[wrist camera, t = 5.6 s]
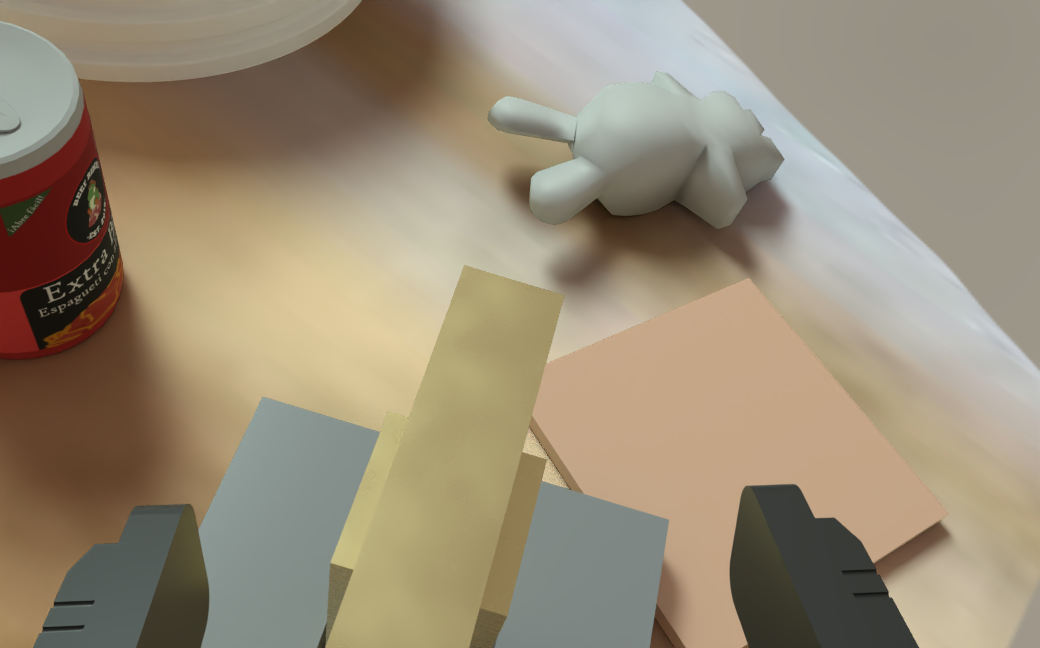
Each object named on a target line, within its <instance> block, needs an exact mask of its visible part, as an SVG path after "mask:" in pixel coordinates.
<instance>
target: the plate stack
mask: <svg viewBox="0 0 1040 648" xmlns="http://www.w3.org/2000/svg"><path fill="white" fill-rule="evenodd" d="M361 1H362V0H0V21H2V22H6V23H10V24H14V25H17V26H19V27H22V28H25V29H27V30H30V31H32V32H34V33H36V34H38V35H40V36H41V37H43V38H45V39H47V40H48V41H50V42H51V43H52V44H54V45H55V46H56V47H57V48H58V49H59V50H61V51H62V52H63V53H64V54H65V56H66V57H67V59H68V60H69V61H70V63H71V64H72V65H73V67H74V70H75V73H76V75H77V77H78V78H79V79H87V80H98V81H112V82H163V81H177V80H187V79H195V78H203V77H209V76H215V75H220V74H225V73H230V72H234V71H238V70H242V69H246V68H250V67H253V66H256V65H260V64H263V63H266V62H269V61H272V60H274V59H277V58H280V57H282V56H285V55H287V54H289V53H292V52H294V51H296V50H298V49H300V48H302V47H304V46H306V45H308V44H310V43H312V42H313V41H315V40H317V39H318V38H320V37H322V36H323V35H325V34H326V33H328V32H329V31H330V30H332V29H333V28H335V27H336V26H337V25H338V24H340V23H341V22H342V21H343V20H344V19H345V18H347V17H348V16H349V15H350V14H351V13H352V12H353V11H354V9H355V8H356V7H357V6H358V5H359V4H360V2H361Z"/></svg>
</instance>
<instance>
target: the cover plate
mask: <svg viewBox="0 0 1040 648" xmlns="http://www.w3.org/2000/svg"><path fill="white" fill-rule="evenodd" d="M379 434H380V432H378V431H375V430H371V429H368V428H365V427H361V426H358V425H355V424H351V423H348V422H345V421H342V420H338V419H335V418H332V417H328V416H325V415H322V414H318V413H315V412H312V411H309V410H305V409H302V408H299V407H295V406H292V405H289V404H285V403H282V402H279V401H276V400H272V399H269V398H266V397H262V399H261V401H260V403H259V405H258V408H257V410H256V412H255V414H254V416H253V418H252V420H251V422H250V424H249V426H248V428H247V430H246V432H245V434H244V437H243V439H242V441H241V443H240V445H239V447H238V449H237V451H236V453H235V455H234V457H233V459H232V461H231V463H230V466H229V468H228V470H227V472H226V474H225V476H224V478H223V480H222V482H221V484H220V486H219V488H218V490H217V492H216V495H215V497H214V499H213V501H212V503H211V505H210V507H209V509H208V511H207V513H206V515H205V517H204V519H203V521H202V524H201V526H200V528H199V530H198V532H199V537H200V542H201V547H202V552H203V557H204V562H205V567H206V572H207V577H208V583H209V614H208V621H207V626H206V630H205V634H204V637H203V641H202V645H201V648H325V643H326V626H327V609H328V592H329V575H330V562H331V560H332V557H333V554H334V552H335V549H336V546H337V544H338V541H339V539H340V536H341V533H342V531H343V528H344V525H345V523H346V520H347V518H348V515H349V512H350V510H351V507H352V504H353V502H354V499H355V497H356V494H357V491H358V489H359V486H360V483H361V481H362V478H363V476H364V473H365V470H366V468H367V465H368V463H369V460H370V457H371V455H372V452H373V449H374V447H375V444H376V442H377V439H378V436H379ZM668 525H669V520H668V519H665V518H662V517H658V516H655V515H652V514H648V513H645V512H642V511H639V510H635V509H632V508H629V507H625V506H622V505H619V504H615V503H612V502H609V501H606V500H602V499H599V498H596V497H592V496H589V495H586V494H582V493H579V492H576V491H573V490H569V489H566V488H563V487H559V486H556V485H553V484H549V483H546V482H543V481H541V485H540V489H539V493H538V497H537V501H536V505H535V509H534V513H533V517H532V521H531V525H530V529H529V533H528V537H527V541H526V545H525V549H524V553H523V557H522V561H521V565H520V569H519V573H518V577H517V581H516V584H515V588H514V592H513V596H512V600H511V604H510V608H509V612H508V616H507V618H506V620H505V622H504V624H503V627H502V629H501V631H500V633H499V635H498V637H497V639H496V641H495V643H494V645H493V647H492V648H650V642H651V635H652V629H653V622H654V616H655V609H656V603H657V596H658V590H659V583H660V577H661V570H662V564H663V557H664V551H665V544H666V538H667V531H668Z"/></svg>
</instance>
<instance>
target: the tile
mask: <svg viewBox="0 0 1040 648" xmlns="http://www.w3.org/2000/svg"><path fill="white" fill-rule="evenodd" d="M529 427H530V428H531V430H532V431H533V433H534V434H535V436H536V437H537V439H538V440H539V442H540V443H541V445H542V446H543V448H544V449H545V451H546V452H547V454H548V455H549V457H550V459H551V460H552V462H553V463H554V465H555V466H556V468H557V469H558V471H559V472H560V474H561V475H562V477H563V478H564V480H565V481H566V483H567V484H568V486H569V487H570V489H571V490H573V491H576V492H579V493H582V494H586V495H589V496H592V497H596V498H599V499H602V500H606V501H609V502H612V503H615V504H619V505H622V506H625V507H629V508H632V509H635V510H639V511H642V512H645V513H648V514H652V515H655V516H658V517H662V518H665V519H668V520H669V525H668V531H667V538H666V544H665V551H664V557H663V564H662V570H661V577H660V583H659V590H658V596H657V603H656V609H655V616H654V617H655V618H656V620H657V621H658V623H659V624H660V626H661V627H662V629H663V630H664V632H665V633H666V635H667V636H668V638H669V640H670V641H671V643H672V644H673V646H674V647H675V648H745V647H746V646H748V643H747V640H746V637H745V635H744V632H743V629H742V626H741V623H740V620H739V617H738V615H737V612H736V609H735V606H734V603H733V599H732V594H731V587H730V575H729V568H730V558H731V552H732V546H733V540H734V534H735V528H736V522H737V516H738V510H739V504H740V498H741V493H742V490H743V489H744V487H745V486H750V485H778V484H796V485H797V486H798V487H799V488H800V489H801V491H802V493H803V495H804V497H805V499H806V501H807V503H808V505H809V507H810V509H811V511H812V513H813V515H814V517H815V518H832V517H834V518H836V519H837V520H838V521H839V522H840V523H841V524H842V525H843V526H845V527H846V528H847V529H848V530H849V531H850V532H851V533H852V534H854V535H855V536H856V537H857V538H858V539H859V540H860V541H861V542H862V544H863V545H864V547H865V549H866V551H867V553H868V555H869V556H870V558H871V560H872V562H873V564H875V563H876V562H878V561H879V560H881V559H882V558H884V557H886V556H887V555H889V554H890V553H892V552H893V551H895V550H896V549H898V548H899V547H901V546H903V545H904V544H906V543H907V542H909V541H910V540H912V539H913V538H915V537H917V536H918V535H920V534H921V533H923V532H924V531H926V530H927V529H929V528H930V527H932V526H934V525H935V524H937V523H938V522H940V521H941V520H942V519H944V518H945V517H946V516H947V515H949V512H948V511H947V510H946V509H945V508H944V507H943V505H942V504H941V503H940V502H939V501H938V500H937V498H936V497H935V496H934V495H933V494H932V492H931V491H930V490H929V489H928V488H927V487H926V485H925V484H924V483H923V482H922V481H921V480H920V478H919V477H918V476H917V475H916V474H915V472H914V471H913V470H912V469H911V468H910V467H909V465H908V464H907V463H906V462H905V461H904V460H903V458H902V457H901V456H900V455H899V454H898V452H897V451H896V450H895V449H894V448H893V447H892V445H891V444H890V443H889V442H888V441H887V440H886V438H885V437H884V436H883V435H882V434H881V432H880V431H879V430H878V429H877V428H876V427H875V425H874V424H873V423H872V422H871V421H870V420H869V418H868V417H867V416H866V415H865V414H864V412H863V411H862V410H861V409H860V408H859V407H858V405H857V404H856V403H855V402H854V401H853V400H852V398H851V397H850V396H849V395H848V394H847V392H846V391H845V390H844V389H843V388H842V387H841V385H840V384H839V383H838V382H837V381H836V380H835V378H834V377H833V376H832V375H831V374H830V372H829V371H828V370H827V369H826V368H825V367H824V365H823V364H822V363H821V362H820V361H819V360H818V358H817V357H816V356H815V355H814V354H813V352H812V351H811V350H810V349H809V348H808V347H807V345H806V344H805V343H804V342H803V341H802V340H801V338H800V337H799V336H798V335H797V334H796V332H795V331H794V330H793V329H792V328H791V327H790V325H789V324H788V323H787V322H786V321H785V320H784V318H783V317H782V316H781V315H780V314H779V312H778V311H777V310H776V309H775V308H774V307H773V305H772V304H771V303H770V302H769V301H768V300H767V298H766V297H765V296H764V295H763V294H762V292H761V291H760V290H759V289H758V288H757V287H756V285H755V284H754V283H753V282H752V281H751V279H750V278H747V279H745V280H742V281H740V282H738V283H735V284H733V285H731V286H728V287H726V288H724V289H721V290H719V291H717V292H714V293H712V294H709V295H707V296H705V297H702V298H700V299H698V300H695V301H693V302H691V303H688V304H686V305H684V306H681V307H679V308H676V309H674V310H672V311H669V312H667V313H665V314H662V315H660V316H658V317H655V318H653V319H651V320H648V321H646V322H643V323H641V324H639V325H636V326H634V327H632V328H629V329H627V330H625V331H622V332H620V333H618V334H615V335H613V336H611V337H608V338H606V339H603V340H601V341H599V342H596V343H594V344H592V345H589V346H587V347H585V348H582V349H580V350H578V351H575V352H573V353H570V354H568V355H566V356H563V357H561V358H559V359H556V360H554V361H552V362H549V363H547V364H546V365H545V369H544V373H543V376H542V380H541V384H540V387H539V391H538V395H537V398H536V402H535V406H534V410H533V413H532V417H531V421H530V424H529Z"/></svg>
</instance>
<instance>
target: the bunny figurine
mask: <svg viewBox="0 0 1040 648" xmlns="http://www.w3.org/2000/svg"><path fill="white" fill-rule="evenodd" d="M488 121H489V122H490V123H491V125H492V126H494V127H495V128H496V129H497V130H500V131H503V132H506V133H510V134H516V135H522V136H528V137H534V138H541V139H546V140H552V141H558V142H563V143H568V145H569V148H570V150H571V152H572V156H573V160H571V161H568V162H565V163H562V164H559V165H556V166H553V167H550V168H547V169H544V170H542V171H539V172H537V173H536V174H535V175H534V176H533V177H532V178H531V187H530V199H529V205H530V209H531V212H532V213H533V214H534V215H535V216H536V217H537V218H538V219H539V220H540V221H542V222H546V223H549V224H552V225H556V224H560V223H564V222H567V221H568V220H569V219H571V218H572V217H573V216H574V215H576V214H577V213H578V212H580V211H581V210H582V209H584V208H585V207H586V206H587V205H589V204H590V203H591V202H593V201H594V200H595V199H598V200H599V201H600V202H601V203H602V204H603V205H604V206H605V208H606V209H607V210H608V211H609V212H610V213H611V214H612V215H621V216H633V215H642V214H646V213H650V212H653V211H656V210H659V209H660V208H662V207H664V206H665V205H667V204H669V203H670V202H672V201H673V200H675V201H677V202H678V203H680V204H681V205H683V206H685V207H686V208H688V209H689V210H691V211H692V212H693V213H695V214H696V215H698V216H699V217H701V218H702V219H703V220H705V221H706V222H708V223H709V224H711V225H712V226H713V227H715V228H716V229H720V228H723V227H727V226H730V225H731V224H732V222H733V221H734V219H735V218H736V216H737V215H738V213H739V212H740V210H741V209H742V207H743V206H744V204H745V203H746V201H747V200H748V198H747V196H746V193H745V192H747V191H748V190H750V189H751V188H752V187H754V186H755V185H757V184H758V183H760V182H761V181H764V180H771V179H772V177H773V176H774V174H775V173H776V171H777V170H778V168H779V167H780V165H781V164H782V162H783V161H784V158H783V156H782V155H781V153H780V152H779V151H778V149H777V148H776V146H775V145H774V143H773V142H772V140H771V139H770V138H768V137H765V136H762V135H761V134H762V132H763V131H764V128H763V127H762V125H761V124H760V122H759V121H758V119H757V118H756V117H755V115H754V114H753V112H752V111H751V109H742V107H741V106H740V104H739V103H738V101H737V100H736V98H735V97H733V96H732V95H730V94H729V93H727V92H725V91H717V92H713V93H711V94H710V95H708V96H707V97H705V98H703V99H702V100H700V99H699V98H697V97H696V96H694V95H693V94H691V93H690V92H689V91H688V90H687V89H686V88H684V87H683V86H682V85H681V84H680V83H679V82H678V81H676V80H675V79H674V78H673V77H672V76H671V75H669V74H668V73H664V72H659V71H656V73H655V75H654V77H653V79H652V81H651V83H650V84H647V83H619V84H613V85H607V86H606V87H605V88H604V89H603V90H602V91H601V92H600V93H599V94H598V95H597V96H596V97H595V98H594V99H593V100H592V101H590V102H589V103H588V104H587V105H586V106H585V107H584V108H583V109H582V110H581V111H580V112H579V113H578V114H577V115H576V116H575V117H573V116H570V115H568V114H565V113H562V112H559V111H556V110H553V109H550V108H547V107H544V106H541V105H538V104H535V103H532V102H529V101H526V100H523V99H520V98H515V97H509V96H506V97H504V98H503V99H501V100H499V101H498V102H497V103H496V104H495V105H494V106H493V107H492V109H491V110H490V111H489V113H488Z"/></svg>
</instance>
